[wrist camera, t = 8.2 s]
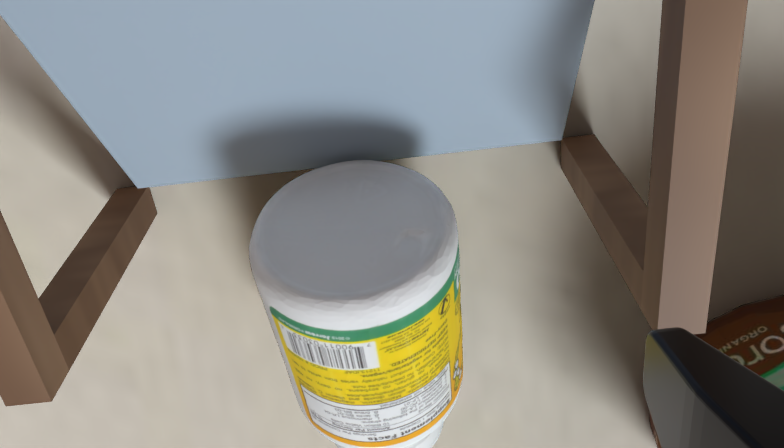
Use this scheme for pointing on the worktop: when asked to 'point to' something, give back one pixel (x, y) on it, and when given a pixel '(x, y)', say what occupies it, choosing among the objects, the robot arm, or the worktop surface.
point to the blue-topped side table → (578, 161)
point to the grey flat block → (304, 78)
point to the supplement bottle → (364, 301)
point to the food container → (750, 340)
